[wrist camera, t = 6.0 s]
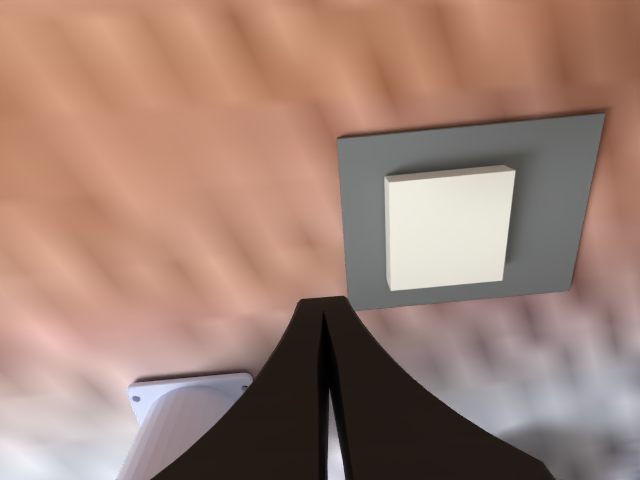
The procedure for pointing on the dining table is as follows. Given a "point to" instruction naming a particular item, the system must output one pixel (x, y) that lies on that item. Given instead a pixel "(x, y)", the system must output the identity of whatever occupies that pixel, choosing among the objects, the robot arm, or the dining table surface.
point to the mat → (469, 152)
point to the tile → (447, 226)
